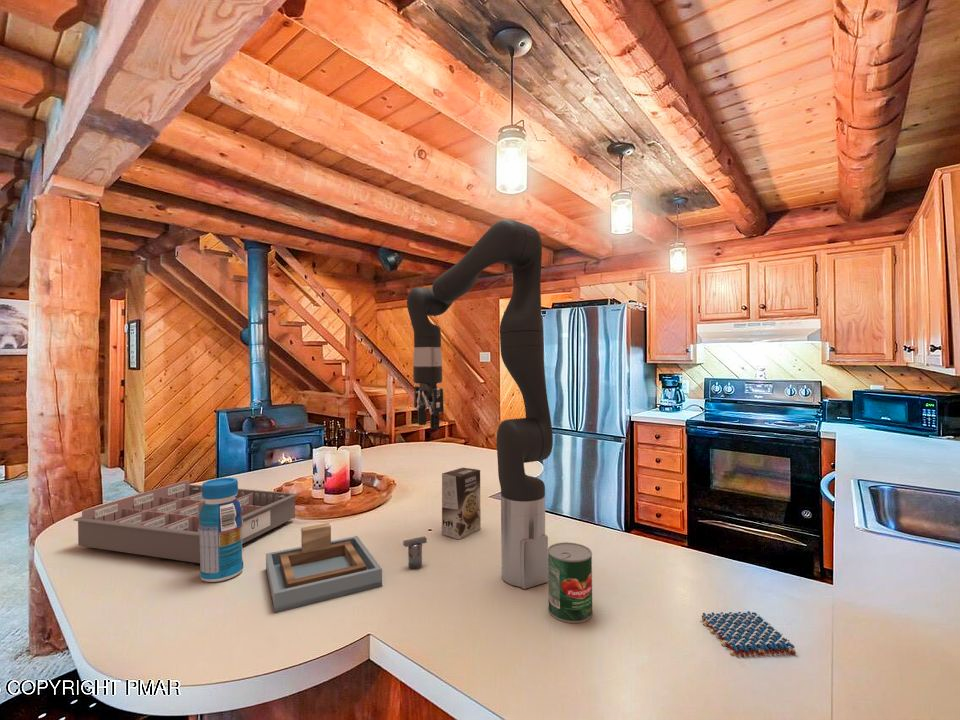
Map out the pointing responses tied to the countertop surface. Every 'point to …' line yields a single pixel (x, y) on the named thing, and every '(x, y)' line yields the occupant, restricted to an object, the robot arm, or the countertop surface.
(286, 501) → the organizer tray
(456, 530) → the coffee box
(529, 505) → the robot arm
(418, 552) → the grey metal t-shaped piece
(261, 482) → the countertop surface
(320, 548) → the wooden frame with tab
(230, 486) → the beverage bottle
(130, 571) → the countertop surface
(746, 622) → the woven mat
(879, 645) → the countertop surface
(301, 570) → the tray
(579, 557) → the canned tomato
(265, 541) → the countertop surface
